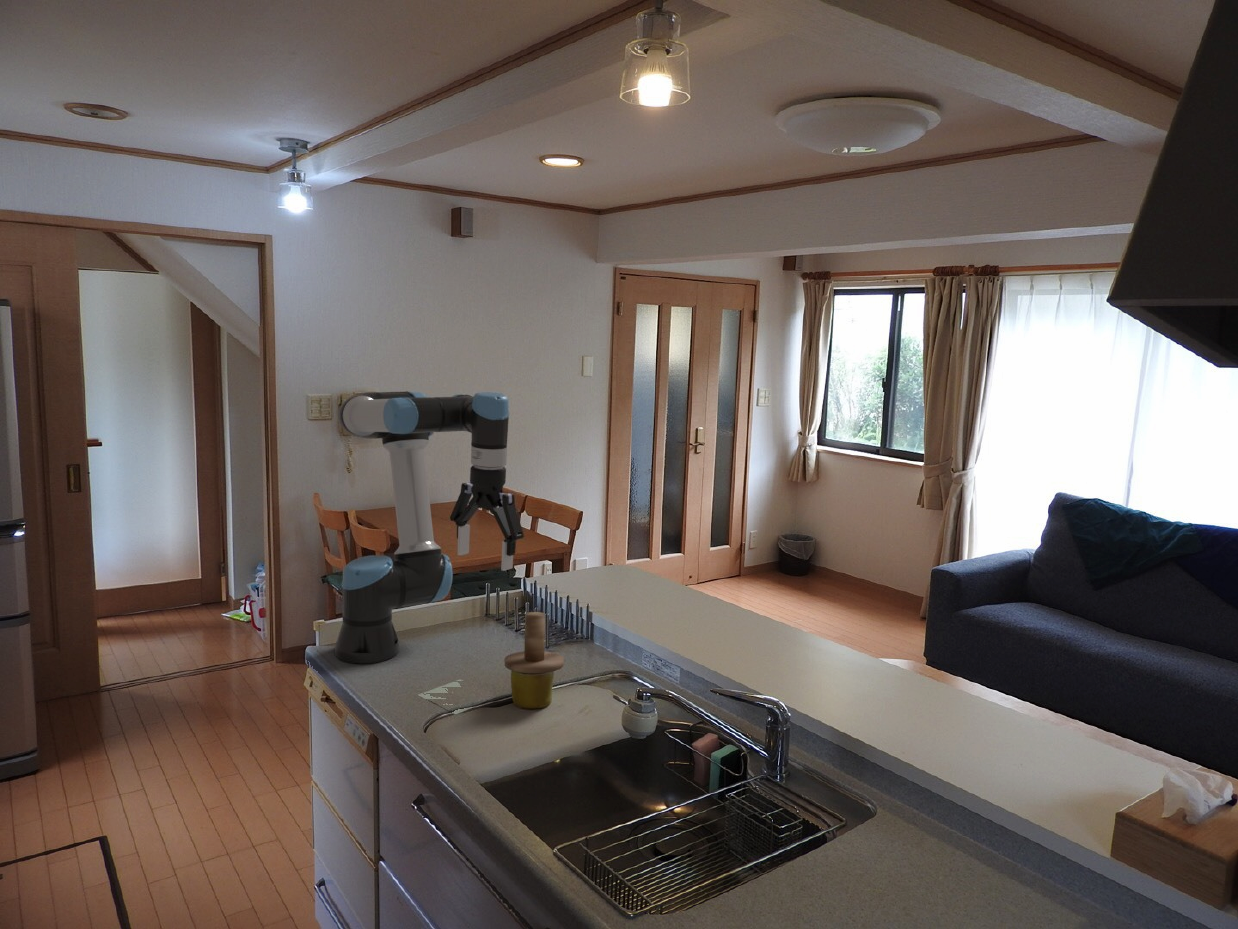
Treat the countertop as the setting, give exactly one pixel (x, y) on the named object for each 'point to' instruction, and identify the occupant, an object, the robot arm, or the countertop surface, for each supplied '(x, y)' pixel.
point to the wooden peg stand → (534, 649)
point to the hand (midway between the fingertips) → (484, 561)
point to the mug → (532, 689)
